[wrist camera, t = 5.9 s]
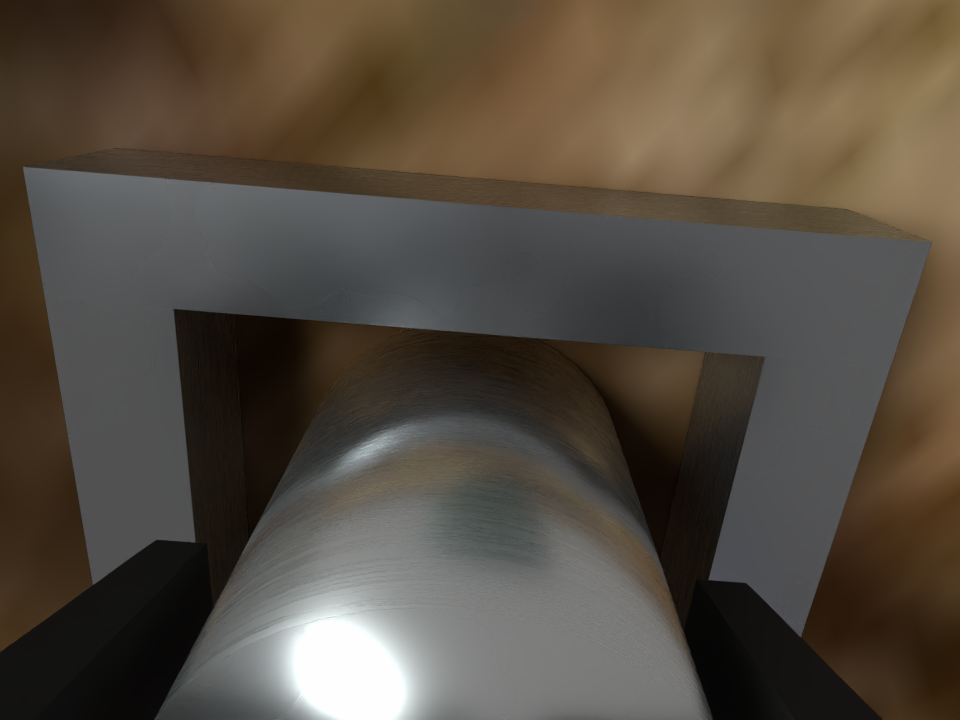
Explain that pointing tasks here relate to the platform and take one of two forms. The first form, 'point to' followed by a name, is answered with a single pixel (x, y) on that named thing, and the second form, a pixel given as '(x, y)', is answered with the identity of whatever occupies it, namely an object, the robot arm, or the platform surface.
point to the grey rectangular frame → (464, 308)
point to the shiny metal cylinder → (448, 557)
